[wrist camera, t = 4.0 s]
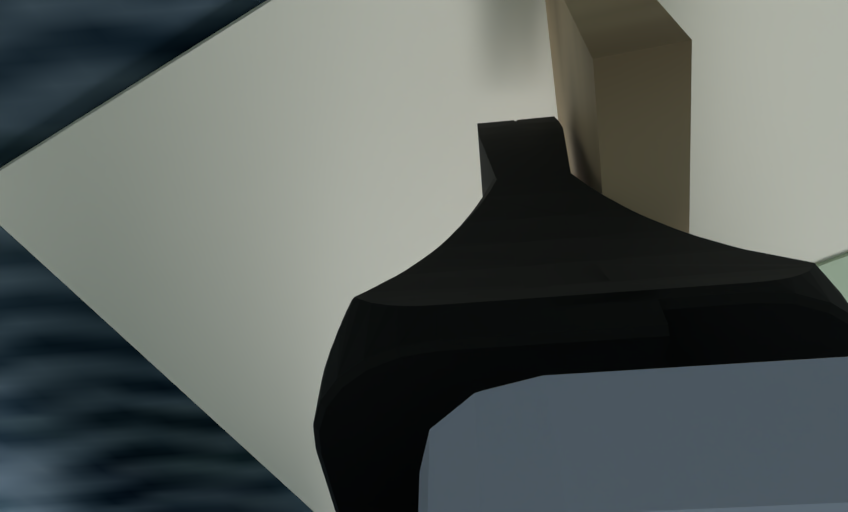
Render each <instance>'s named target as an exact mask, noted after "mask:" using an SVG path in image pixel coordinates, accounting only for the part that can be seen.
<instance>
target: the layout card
mask: <svg viewBox="0 0 848 512" xmlns="http://www.w3.org/2000/svg"><path fill="white" fill-rule="evenodd" d="M657 1H658V2H659V3H660V4H661V5H662V6H663V7H664V9H665V10H666V11H667V12H668V13H669V14H670V15H671V16H672V18H673V19H674V20H675V21H676V22H677V23H678V24H679V26H680V27H681V28H682V29H683V30H684V31H685V32H686V34H687V35H688V36H689V37H690V38H691V39H692V74H691V145H690V216H689V234H692V235H695V236H698V237H702V238H705V239H709V240H712V241H716V242H719V243H723V244H726V245H730V246H733V247H737V248H741V249H746V250H751V251H756V252H761V253H766V254H772V255H777V256H782V257H787V258H792V259H798V260H803V261H808V262H813V263H815V264H816V265H817V266H818V267H819V269H820V270H821V271H822V272H823V273H824V274H825V275H826V276H827V278H828V279H829V280H830V281H831V282H832V283H833V284H834V286H835V287H836V288H837V289H838V290H839V291H840V293H841V294H842V295H843V297H844V298H845V299H846V301H847V302H848V0H657ZM552 116H554V117H555V118H556V119H557V120H558V114H557V105H556V95H555V86H554V77H553V68H552V58H551V49H550V40H549V30H548V21H547V12H546V2H545V0H266V1H265V2H263V3H262V4H260V5H258V6H257V7H255V8H254V9H252V10H250V11H249V12H247V13H246V14H244V15H242V16H241V17H239V18H238V19H236V20H235V21H233V22H231V23H230V24H228V25H227V26H225V27H223V28H222V29H220V30H219V31H217V32H215V33H214V34H212V35H211V36H209V37H208V38H206V39H204V40H203V41H201V42H200V43H198V44H196V45H195V46H193V47H192V48H190V49H188V50H187V51H185V52H184V53H182V54H180V55H179V56H177V57H176V58H174V59H173V60H171V61H169V62H168V63H166V64H165V65H163V66H161V67H160V68H158V69H157V70H155V71H153V72H152V73H150V74H149V75H147V76H146V77H144V78H142V79H141V80H139V81H138V82H136V83H134V84H133V85H131V86H130V87H128V88H126V89H125V90H123V91H122V92H120V93H119V94H117V95H115V96H114V97H112V98H111V99H109V100H107V101H106V102H104V103H103V104H101V105H99V106H98V107H96V108H95V109H93V110H92V111H90V112H88V113H87V114H85V115H84V116H82V117H80V118H79V119H77V120H76V121H74V122H72V123H71V124H69V125H68V126H66V127H65V128H63V129H61V130H60V131H58V132H57V133H55V134H53V135H52V136H50V137H49V138H47V139H45V140H44V141H42V142H41V143H39V144H38V145H36V146H34V147H33V148H31V149H30V150H28V151H26V152H25V153H23V154H22V155H20V156H18V157H17V158H15V159H14V160H12V161H10V162H9V163H7V164H6V165H4V166H3V167H1V168H0V226H2V227H3V228H4V229H5V230H6V231H7V232H8V233H9V234H10V235H11V236H13V237H14V238H15V239H16V240H17V241H18V242H19V243H20V244H21V245H22V246H23V247H25V248H26V249H27V250H28V251H29V252H30V253H31V254H32V255H33V256H34V257H36V258H37V259H38V260H39V261H40V262H41V263H42V264H43V265H44V266H45V267H46V268H48V269H49V270H50V271H51V272H52V273H53V274H54V275H55V276H56V277H57V278H59V279H60V280H61V281H62V282H63V283H64V284H65V285H66V286H67V287H68V288H69V289H71V290H72V291H73V292H74V293H75V294H76V295H77V296H78V297H79V298H80V299H82V300H83V301H84V302H85V303H86V304H87V305H88V306H89V307H90V308H91V309H92V310H94V311H95V312H96V313H97V314H98V315H99V316H100V317H101V318H102V319H103V320H105V321H106V322H107V323H108V324H109V325H110V326H111V327H112V328H113V329H114V330H115V331H117V332H118V333H119V334H120V335H121V336H122V337H123V338H124V339H125V340H126V341H128V342H129V343H130V344H131V345H132V346H133V347H134V348H135V349H136V350H137V351H138V352H140V353H141V354H142V355H143V356H144V357H145V358H146V359H147V360H148V361H149V362H151V363H152V364H153V365H154V366H155V367H156V368H157V369H158V370H159V371H160V372H161V373H163V374H164V375H165V376H166V377H167V378H168V379H169V380H170V381H171V382H172V383H173V384H175V385H176V386H177V387H178V388H179V389H180V390H181V391H182V392H183V393H184V394H186V395H187V396H188V397H189V398H190V399H191V400H192V401H193V402H194V403H195V404H196V405H198V406H199V407H200V408H201V409H202V410H203V411H204V412H205V413H206V414H207V415H209V416H210V417H211V418H212V419H213V420H214V421H215V422H216V423H217V424H218V425H219V426H221V427H222V428H223V429H224V430H225V431H226V432H227V433H228V434H229V435H230V436H232V437H233V438H234V439H235V440H236V441H237V442H238V443H239V444H240V445H241V446H242V447H244V448H245V449H246V450H247V451H248V452H249V453H250V454H251V455H252V456H253V457H255V458H256V459H257V460H258V461H259V462H260V463H261V464H262V465H263V466H264V467H265V468H267V469H268V470H269V471H270V472H271V473H272V474H273V475H274V476H275V477H276V478H278V479H279V480H280V481H281V482H282V483H283V484H284V485H285V486H286V487H287V488H288V489H290V490H291V491H292V492H293V493H294V494H295V495H296V496H297V497H298V498H299V499H301V500H302V501H303V502H304V503H305V504H306V505H307V506H308V507H309V508H310V509H311V510H313V511H314V512H335V509H334V505H333V502H332V499H331V496H330V493H329V490H328V486H327V483H326V480H325V477H324V474H323V471H322V467H321V464H320V461H319V458H318V455H317V452H316V447H315V439H314V430H313V423H314V417H315V412H316V407H317V402H318V396H319V391H320V386H321V381H322V377H323V372H324V368H325V365H326V362H327V359H328V356H329V353H330V350H331V347H332V345H333V343H334V340H335V337H336V335H337V332H338V329H339V327H340V325H341V322H342V320H343V318H344V316H345V313H346V311H347V309H348V307H349V305H350V303H351V300H352V299H353V298H354V297H355V296H357V295H359V294H362V293H364V292H366V291H368V290H370V289H372V288H374V287H376V286H377V285H379V284H381V283H383V282H385V281H387V280H389V279H391V278H393V277H395V276H397V275H398V274H400V273H402V272H403V271H405V270H407V269H408V268H410V267H411V266H413V265H414V264H416V263H417V262H419V261H420V260H422V259H423V258H425V257H426V256H427V255H429V254H430V253H431V252H433V251H434V250H435V249H437V248H438V247H439V246H440V245H441V244H442V243H444V242H445V241H446V240H447V239H448V238H449V237H450V236H451V235H452V234H453V233H454V232H455V231H456V230H457V229H458V228H459V227H460V226H461V224H462V223H463V222H464V221H465V220H466V218H467V217H468V216H469V215H470V214H471V212H472V211H473V210H474V208H475V207H476V206H477V204H478V203H479V201H480V200H481V199H482V197H483V196H482V182H481V169H480V155H479V141H478V128H477V123H488V122H499V121H509V120H514V121H517V120H520V119H531V118H542V117H552Z"/></svg>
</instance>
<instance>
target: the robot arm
mask: <svg viewBox="0 0 848 512" xmlns="http://www.w3.org/2000/svg"><path fill="white" fill-rule="evenodd" d="M477 128H478V141H479V155H480V169H481V182H482V196H483V197H482V199H481V200H480V201H479V203H478V204H477V206H476V207H475V208H474V210H473V211H472V212H471V214H470V215H469V216H468V217H467V218H466V220H465V221H464V222H463V223H462V224H461V226H460V227H459V228H458V229H457V230H456V231H455V232H454V233H453V234H452V235H451V236H450V237H449V238H448V239H447V240H446V241H445V242H444V243H442V244H441V245H440V246H439V247H438V248H437V249H435V250H434V251H433V252H431V253H430V254H429V255H427V256H426V257H425V258H423V259H422V260H420V261H419V262H417V263H416V264H414V265H413V266H411V267H410V268H408V269H407V270H405V271H403V272H402V273H400V274H398V275H397V276H395V277H393V278H391V279H389V280H387V281H385V282H383V283H381V284H379V285H377V286H376V287H374V288H372V289H370V290H368V291H366V292H364V293H362V294H359V295H357V296H355V297H354V298H353V299H352V300H351V303H350V305H349V307H348V309H347V311H346V313H345V316H344V318H343V320H342V322H341V325H340V327H339V329H338V332H337V335H336V337H335V340H334V343H333V345H332V347H331V350H330V353H329V356H328V359H327V362H326V365H325V368H324V372H323V377H322V381H321V386H320V391H319V396H318V402H317V407H316V412H315V417H314V423H313V430H314V439H315V447H316V452H317V455H318V458H319V461H320V464H321V467H322V471H323V474H324V477H325V480H326V483H327V486H328V490H329V493H330V496H331V499H332V502H333V505H334V509H335V512H848V302H847V301H846V299H845V298H844V297H843V295H842V294H841V293H840V291H839V290H838V289H837V288H836V287H835V286H834V284H833V283H832V282H831V281H830V280H829V279H828V278H827V276H826V275H825V274H824V273H823V272H822V271H821V270H820V269H819V267H818V266H817V265H816V264H815V263H813V262H808V261H803V260H798V259H792V258H787V257H782V256H777V255H772V254H766V253H761V252H756V251H751V250H746V249H741V248H737V247H733V246H730V245H726V244H723V243H719V242H716V241H712V240H709V239H705V238H702V237H698V236H695V235H692V234H689V233H686V232H683V231H680V230H677V229H675V228H672V227H670V226H667V225H665V224H662V223H660V222H657V221H655V220H652V219H650V218H648V217H645V216H643V215H641V214H639V213H636V212H634V211H632V210H630V209H628V208H626V207H624V206H622V205H621V204H619V203H617V202H615V201H613V200H611V199H610V198H608V197H606V196H604V195H602V194H601V193H599V192H597V191H596V190H594V189H593V188H591V187H590V186H588V185H587V184H585V183H584V182H582V181H581V180H580V179H578V178H577V177H575V176H574V175H573V174H571V171H570V165H569V159H568V153H567V147H566V142H565V136H564V130H563V127H562V125H561V124H560V122H559V121H558V120H557V119H556V118H555V117H554V116H552V117H542V118H531V119H520V120H517V121H514V120H509V121H499V122H488V123H477Z"/></svg>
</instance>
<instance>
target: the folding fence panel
mask: <svg viewBox="0 0 848 512" xmlns="http://www.w3.org/2000/svg"><path fill="white" fill-rule="evenodd" d="M545 2H546V12H547V21H548V30H549V40H550V49H551V58H552V68H553V77H554V86H555V95H556V105H557V114H558V121H559V122H560V124H561V125H562V127H563V130H564V136H565V142H566V147H567V153H568V159H569V165H570V171H571V174H573V175H574V176H575V177H577V178H578V179H580V180H581V181H582V182H584V183H585V184H587V185H588V186H590V187H591V188H593V189H594V190H596V191H597V192H599V193H601V194H602V195H604V196H606V197H608V198H610V199H611V200H613V201H615V202H617V203H619V204H621V205H622V206H624V207H626V208H628V209H630V210H632V211H634V212H636V213H639V214H641V215H643V216H645V217H648V218H650V219H652V220H655V221H657V222H660V223H662V224H665V225H667V226H670V227H672V228H675V229H677V230H680V231H683V232H686V233H689V216H690V145H691V74H692V39H691V38H690V37H689V36H688V35H687V34H686V32H685V31H684V30H683V29H682V28H681V27H680V26H679V24H678V23H677V22H676V21H675V20H674V19H673V18H672V16H671V15H670V14H669V13H668V12H667V11H666V10H665V9H664V7H663V6H662V5H661V4H660V3H659V2H658V1H657V0H545Z"/></svg>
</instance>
